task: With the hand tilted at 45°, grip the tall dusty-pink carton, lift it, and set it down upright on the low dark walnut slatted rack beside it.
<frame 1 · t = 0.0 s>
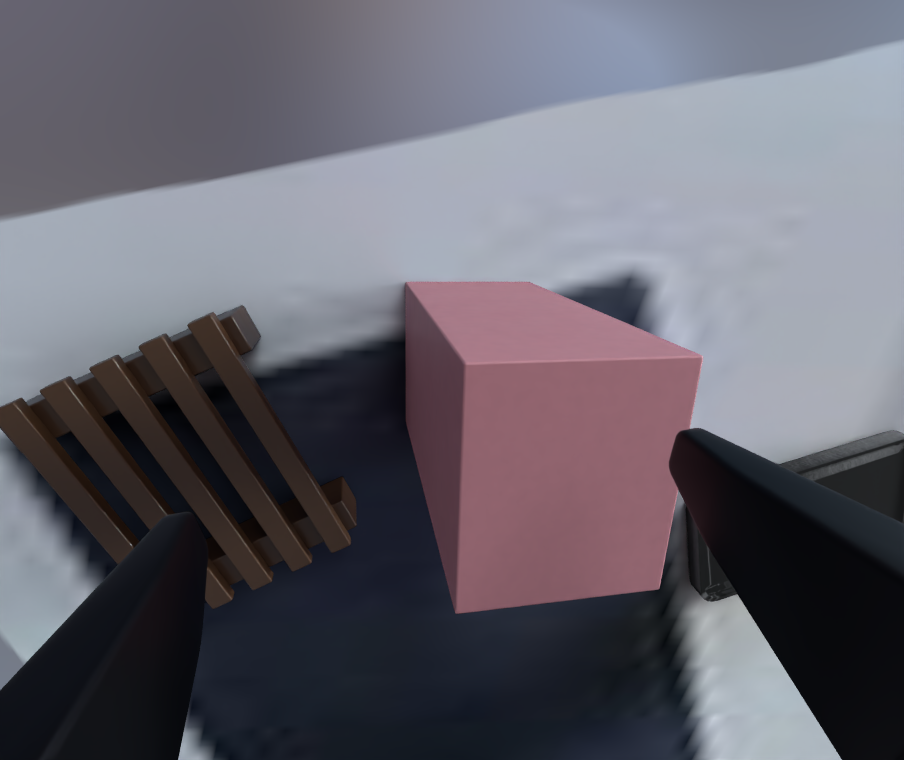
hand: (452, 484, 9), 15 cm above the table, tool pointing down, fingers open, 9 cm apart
phone: (793, 510, 33), on the table
box: (466, 353, 25), on the table
rack: (208, 454, 24), on the table
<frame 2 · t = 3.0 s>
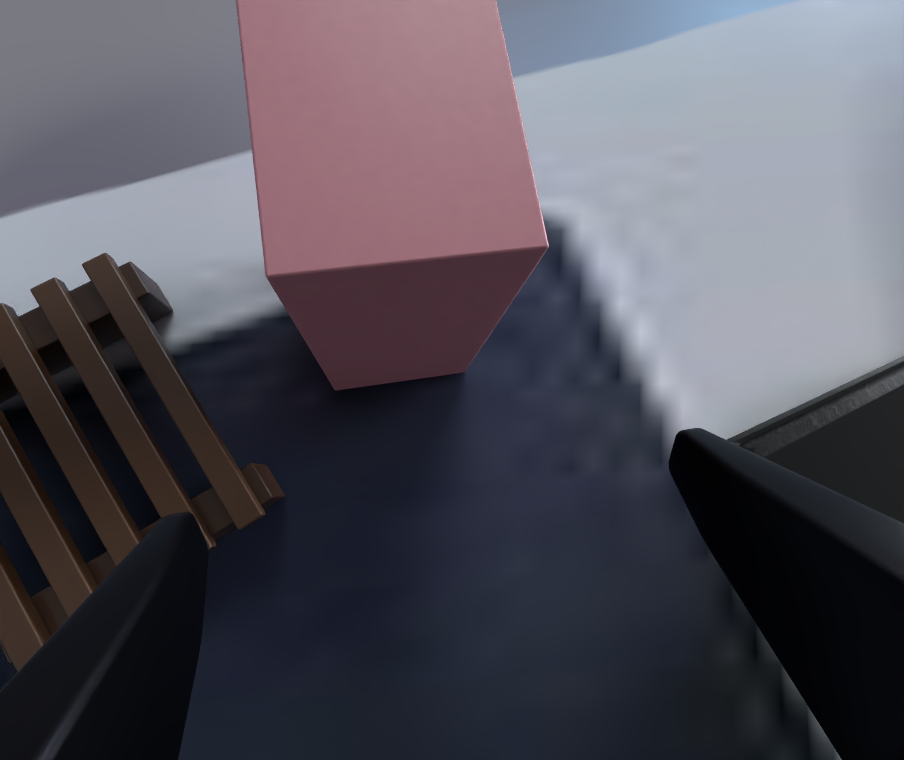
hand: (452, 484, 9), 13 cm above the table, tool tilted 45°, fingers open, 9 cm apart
phone: (860, 467, 25), on the table
box: (390, 309, 24), on the table
rack: (109, 449, 21), on the table
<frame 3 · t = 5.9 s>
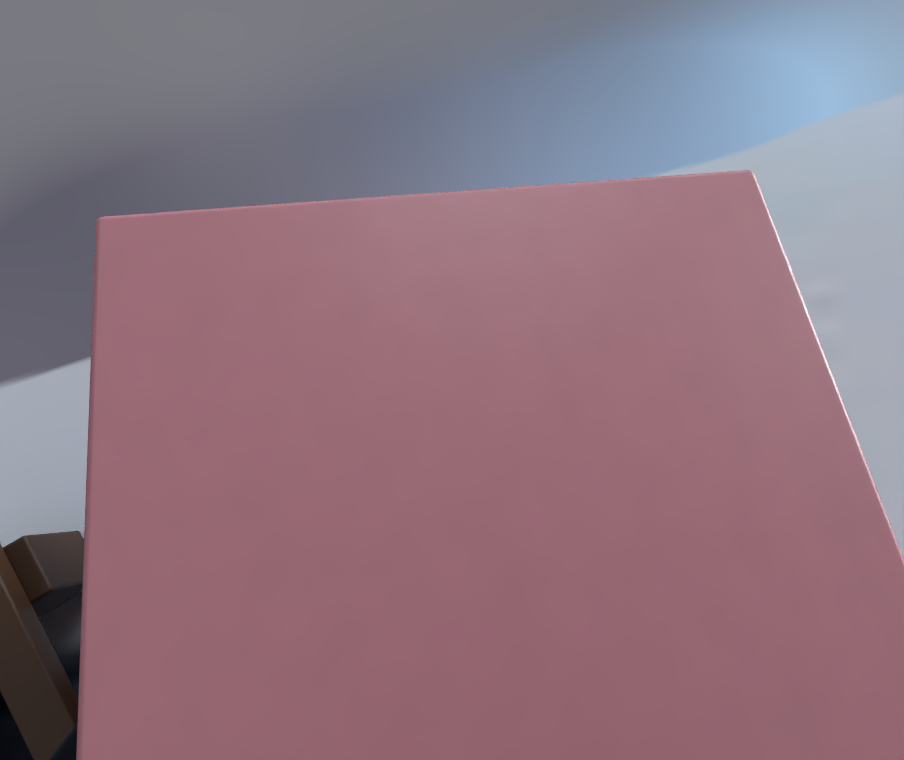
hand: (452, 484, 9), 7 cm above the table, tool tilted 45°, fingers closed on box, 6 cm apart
box: (428, 553, 16), on the table, touching gripper
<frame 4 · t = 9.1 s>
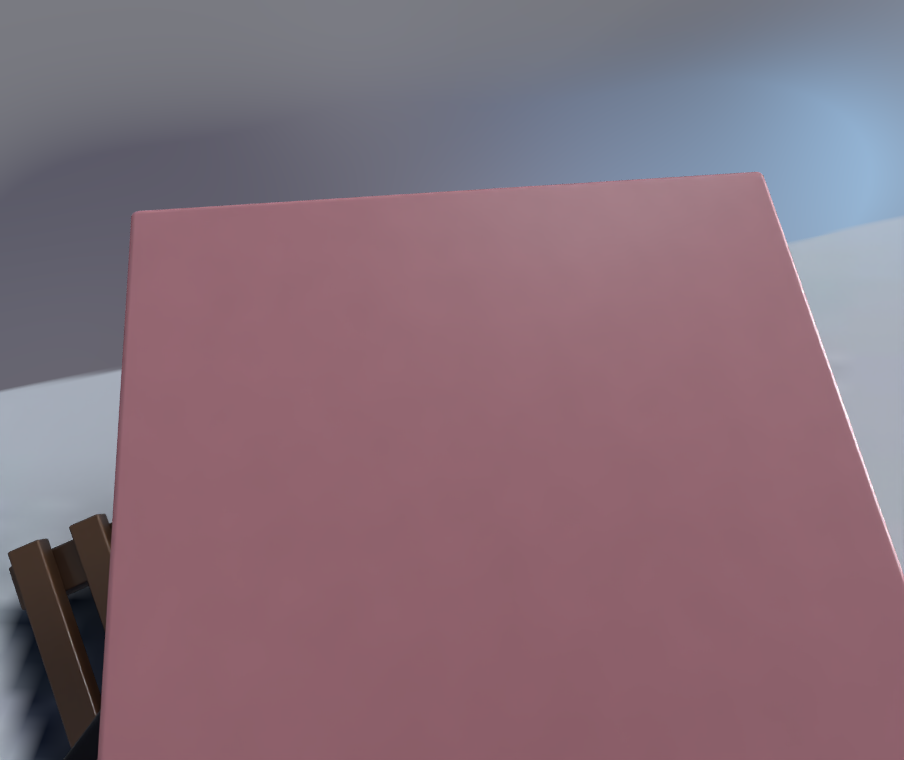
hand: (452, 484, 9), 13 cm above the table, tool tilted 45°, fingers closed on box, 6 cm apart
box: (442, 547, 16), point 6 cm above the table, tilted 6°, touching gripper
rack: (226, 632, 20), on the table
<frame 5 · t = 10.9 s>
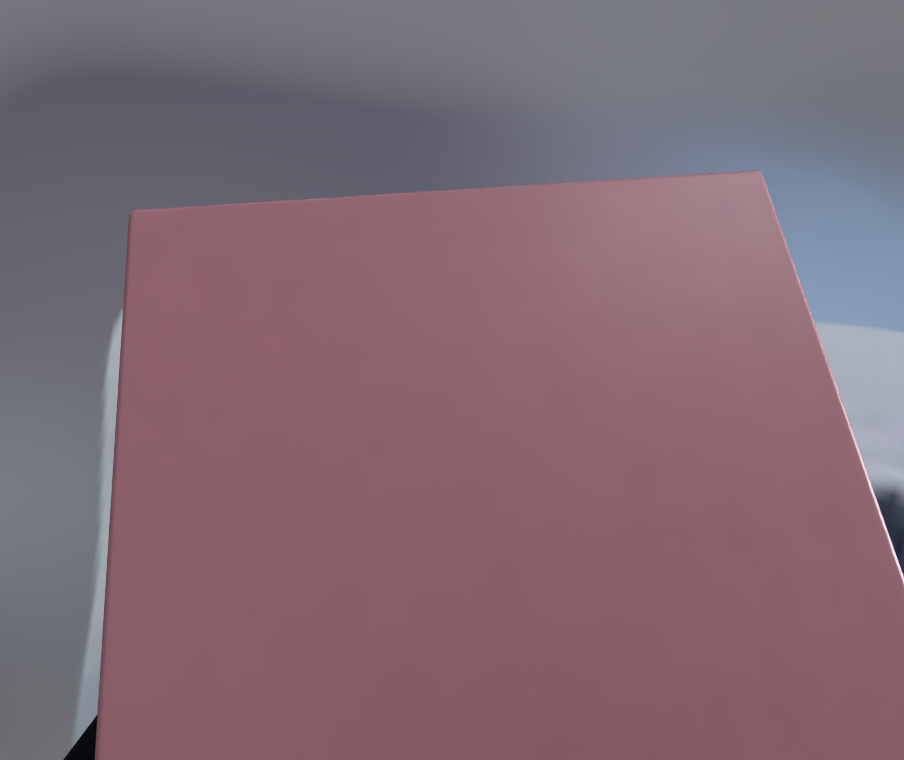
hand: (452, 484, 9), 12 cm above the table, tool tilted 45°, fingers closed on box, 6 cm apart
box: (442, 547, 16), point 5 cm above the table, tilted 6°, touching gripper
when the fingers open (11 cm above the table, at t = 12.1 s): box stays where it is, resting on rack.
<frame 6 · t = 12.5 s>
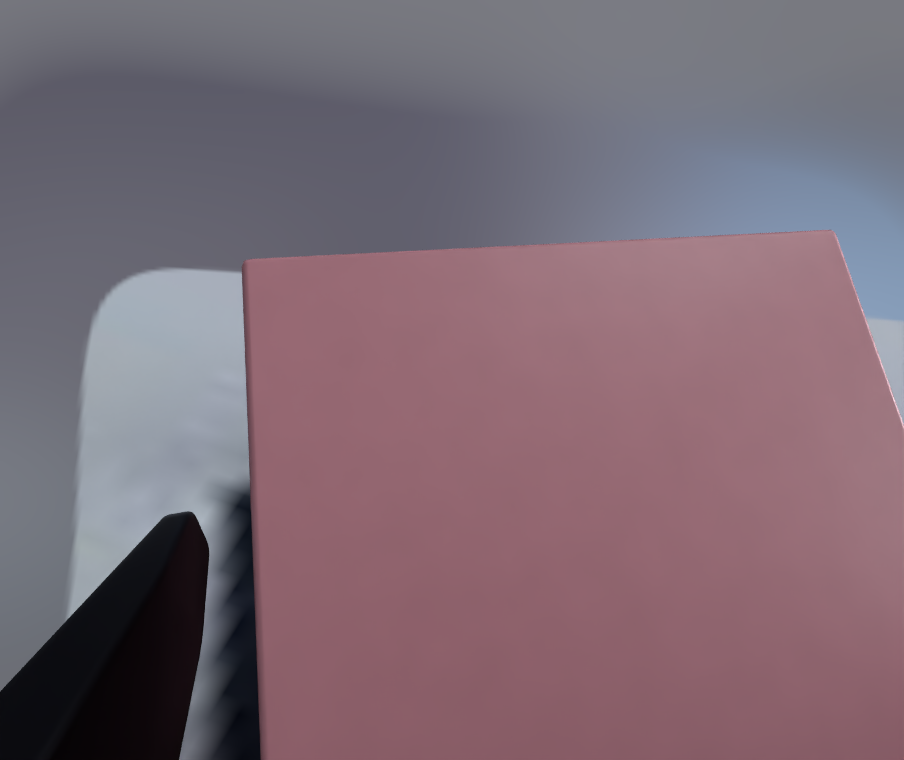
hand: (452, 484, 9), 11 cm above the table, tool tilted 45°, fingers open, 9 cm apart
box: (443, 548, 16), point 3 cm above the table, touching rack
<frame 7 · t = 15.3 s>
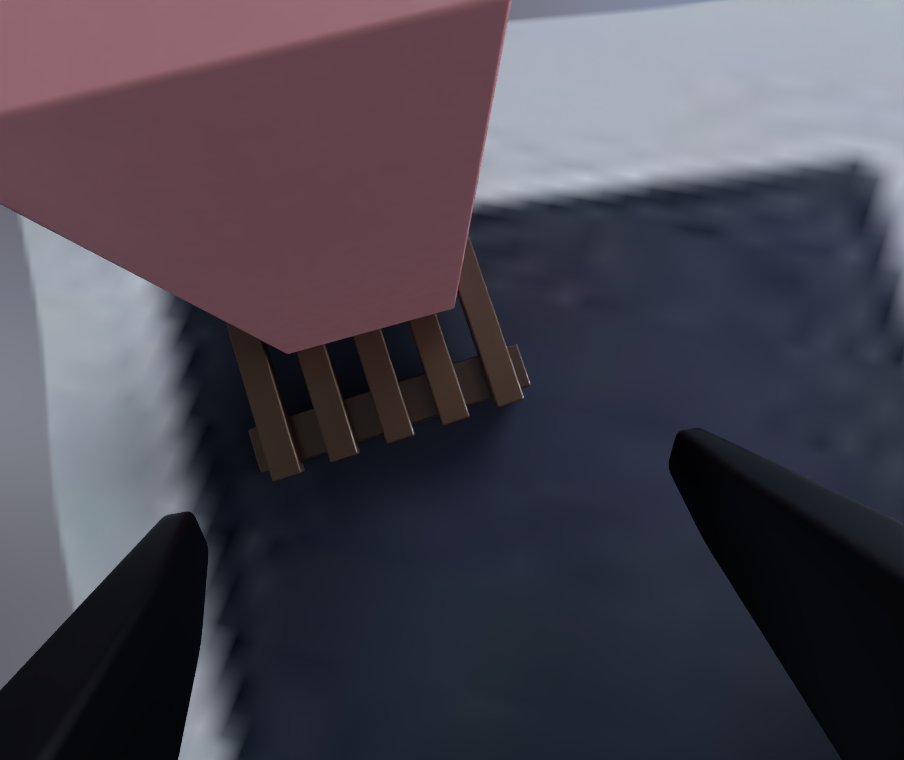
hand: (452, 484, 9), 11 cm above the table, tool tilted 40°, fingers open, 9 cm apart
box: (345, 237, 18), point 3 cm above the table, touching rack
rack: (360, 297, 21), on the table
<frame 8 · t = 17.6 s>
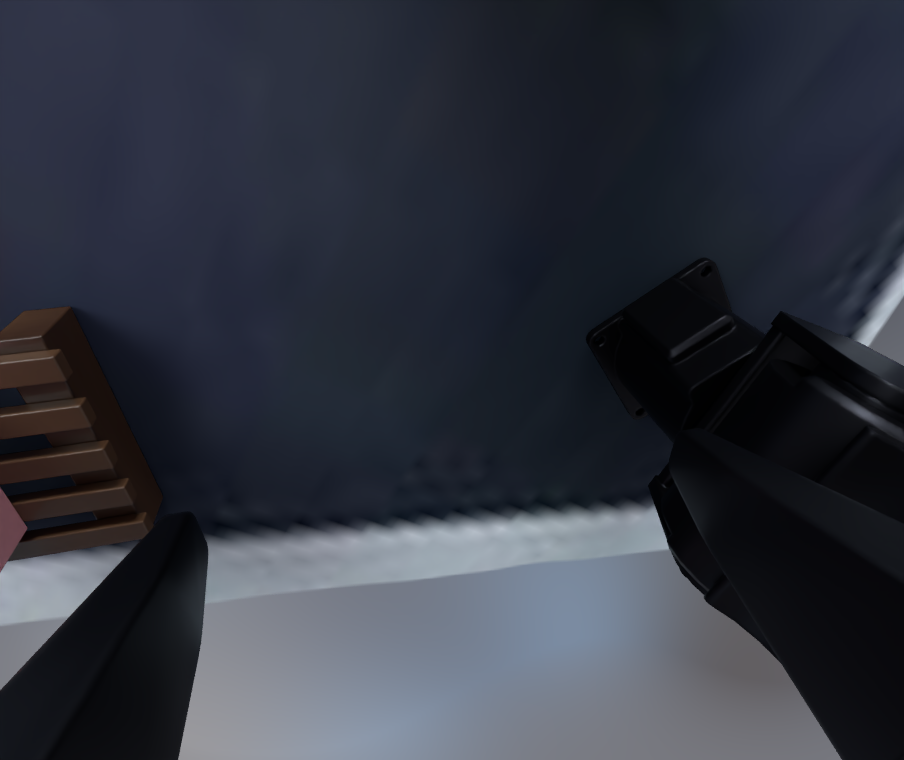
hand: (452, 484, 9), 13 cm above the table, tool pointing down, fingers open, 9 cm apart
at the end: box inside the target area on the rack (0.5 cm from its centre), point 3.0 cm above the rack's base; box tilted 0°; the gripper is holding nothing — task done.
